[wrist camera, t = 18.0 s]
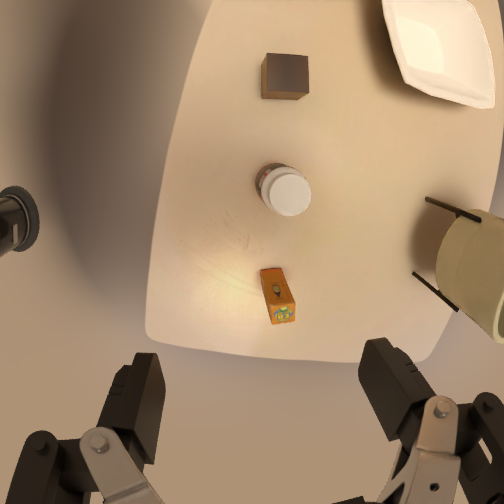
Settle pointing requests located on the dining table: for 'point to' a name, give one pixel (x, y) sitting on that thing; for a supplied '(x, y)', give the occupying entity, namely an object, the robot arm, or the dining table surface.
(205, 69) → the dining table surface
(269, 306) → the supplement box
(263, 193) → the pill bottle
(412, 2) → the bowl
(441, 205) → the planter
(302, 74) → the walnut block
